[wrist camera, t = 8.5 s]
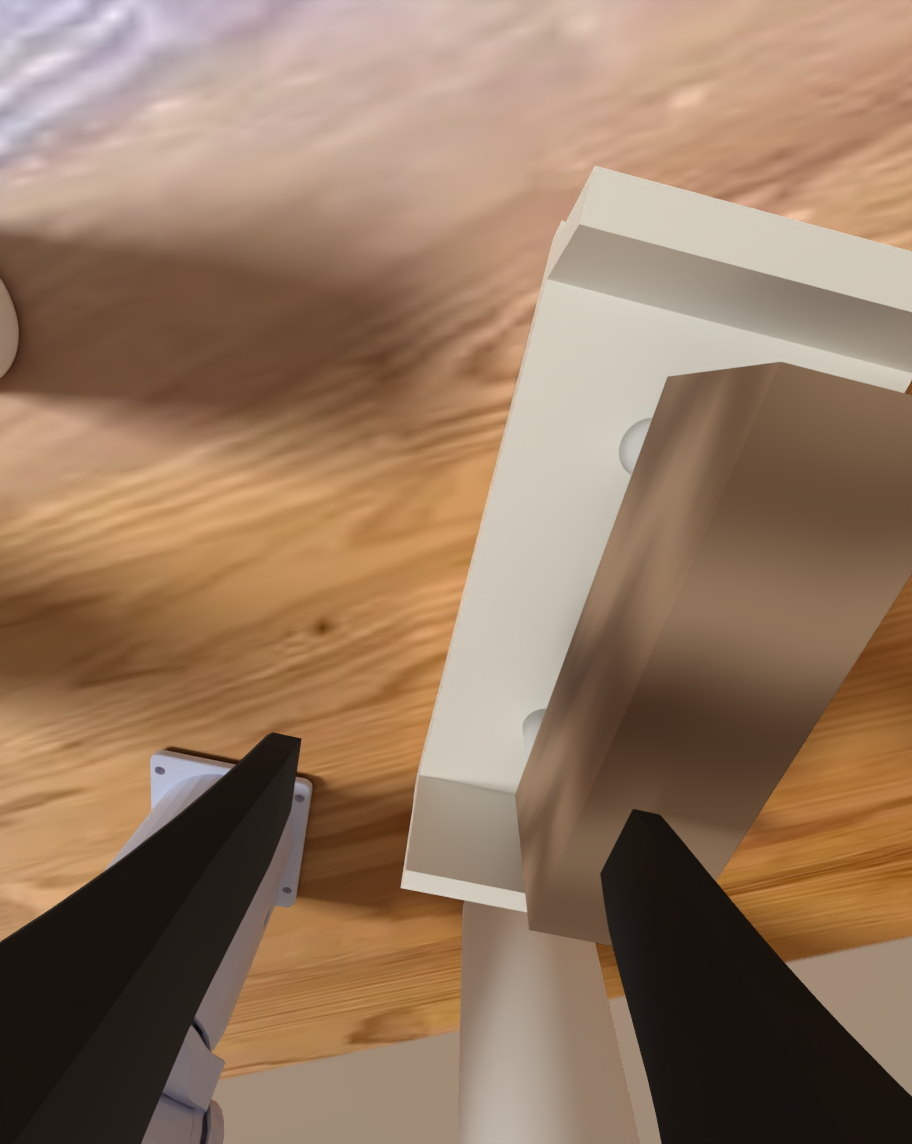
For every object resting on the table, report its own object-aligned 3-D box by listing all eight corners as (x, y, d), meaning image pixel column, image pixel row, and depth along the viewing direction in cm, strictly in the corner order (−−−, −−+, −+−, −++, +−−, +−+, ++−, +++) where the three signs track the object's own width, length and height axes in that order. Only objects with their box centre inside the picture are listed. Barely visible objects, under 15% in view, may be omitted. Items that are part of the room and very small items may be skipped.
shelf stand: (645, 820, 23) (700, 954, 18) (416, 774, 23) (398, 896, 17) (900, 329, 15) (1153, 285, 9) (553, 237, 14) (603, 134, 9)
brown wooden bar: (618, 816, 18) (667, 956, 14) (514, 794, 18) (529, 930, 14) (814, 413, 13) (1009, 419, 8) (667, 376, 13) (781, 361, 8)
